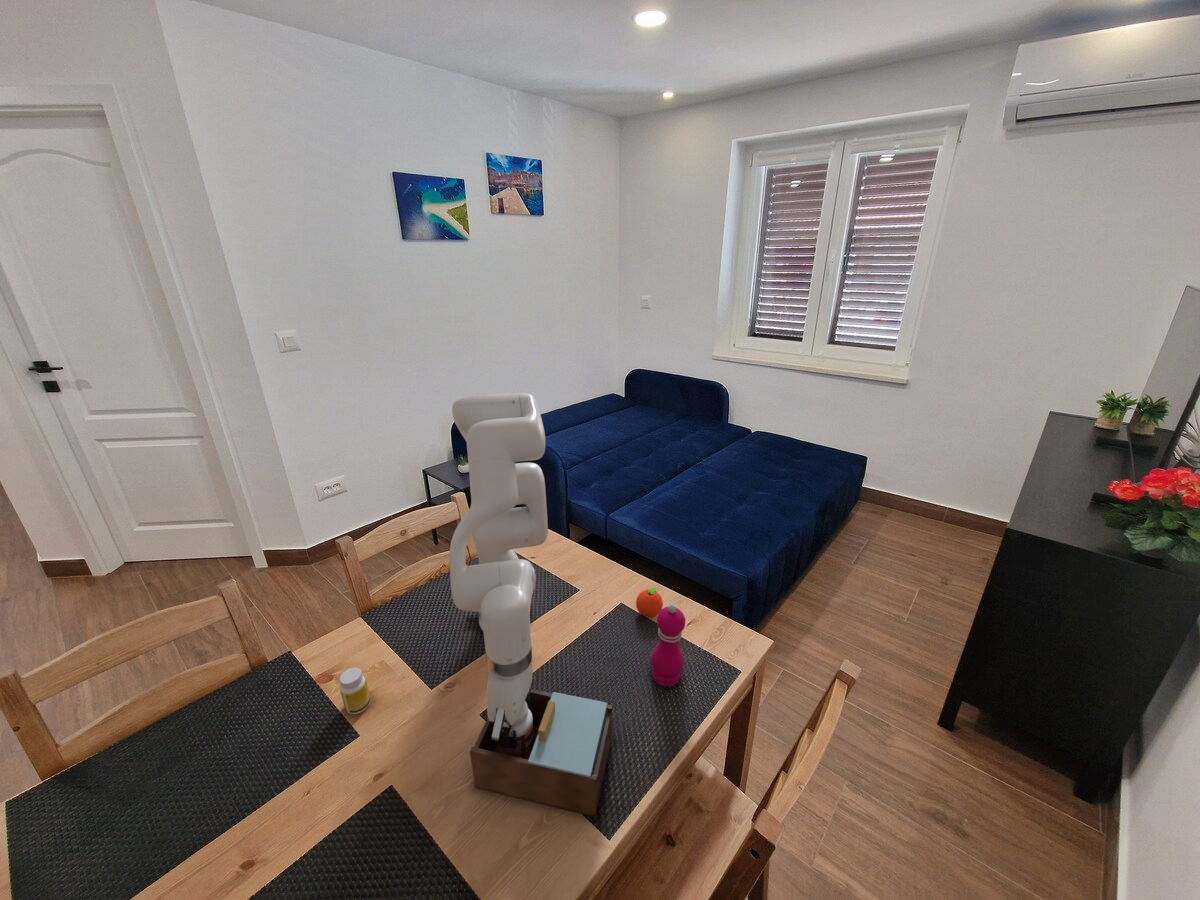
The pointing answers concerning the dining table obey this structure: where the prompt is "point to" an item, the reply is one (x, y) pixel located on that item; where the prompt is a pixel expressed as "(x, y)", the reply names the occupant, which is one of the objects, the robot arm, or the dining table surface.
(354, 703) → the supplement bottle
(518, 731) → the pill bottle
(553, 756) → the sliding box lid
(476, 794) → the dining table surface
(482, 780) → the case
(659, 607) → the clementine
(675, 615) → the pepper mill
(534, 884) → the dining table surface
